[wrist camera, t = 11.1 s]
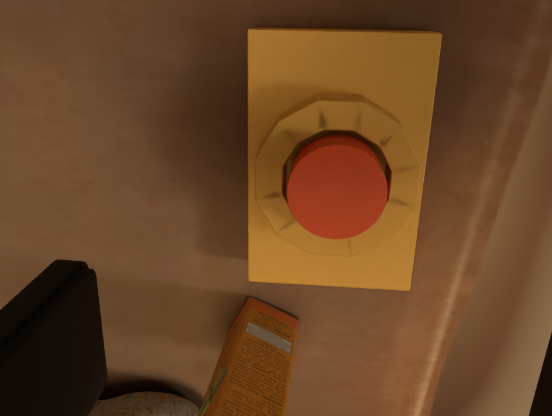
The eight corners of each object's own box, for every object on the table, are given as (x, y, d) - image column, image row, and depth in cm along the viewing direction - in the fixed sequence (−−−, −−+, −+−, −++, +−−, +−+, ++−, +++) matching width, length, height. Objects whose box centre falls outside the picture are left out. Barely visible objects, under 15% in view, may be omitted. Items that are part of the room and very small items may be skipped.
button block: (432, 30, 23) (453, 35, 19) (403, 270, 27) (415, 311, 24) (254, 27, 24) (240, 30, 20) (253, 261, 28) (242, 300, 24)
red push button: (387, 136, 21) (392, 146, 20) (378, 225, 23) (382, 242, 21) (290, 132, 21) (287, 142, 20) (288, 221, 23) (285, 237, 21)
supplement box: (245, 290, 29) (207, 426, 19) (300, 317, 29) (288, 464, 20) (220, 334, 30) (172, 481, 20) (273, 359, 30) (249, 516, 21)
